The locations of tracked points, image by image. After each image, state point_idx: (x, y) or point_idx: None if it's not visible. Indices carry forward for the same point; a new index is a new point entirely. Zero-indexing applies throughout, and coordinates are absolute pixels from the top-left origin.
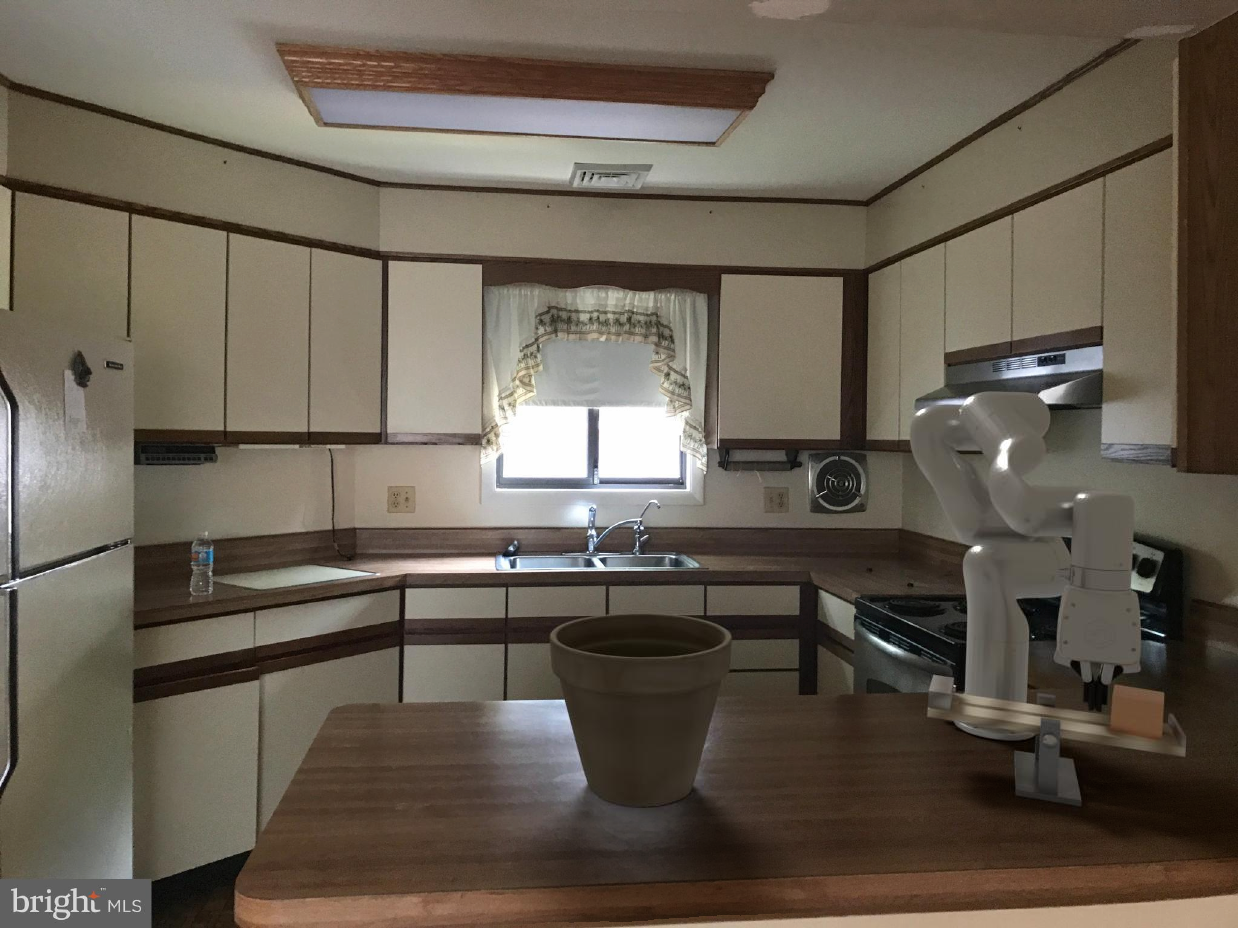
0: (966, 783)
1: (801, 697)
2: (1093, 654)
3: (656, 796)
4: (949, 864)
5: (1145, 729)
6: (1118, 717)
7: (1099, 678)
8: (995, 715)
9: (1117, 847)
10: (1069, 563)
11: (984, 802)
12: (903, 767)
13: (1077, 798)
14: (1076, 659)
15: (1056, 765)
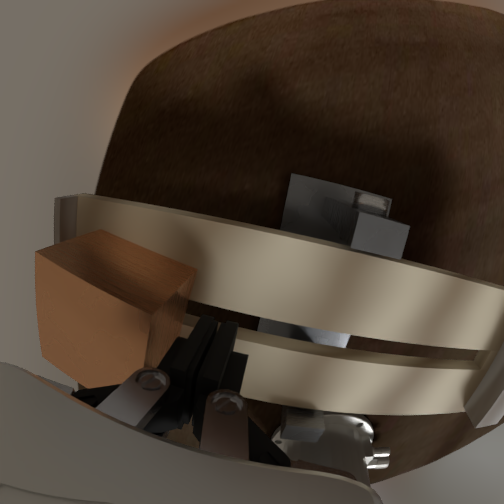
0: (444, 232)
1: (484, 433)
2: (165, 480)
3: None
4: (462, 9)
5: (116, 244)
6: (164, 276)
7: (174, 398)
8: (460, 307)
9: (276, 41)
10: None
11: (436, 161)
12: (495, 273)
13: (296, 181)
14: (285, 467)
15: (339, 201)
